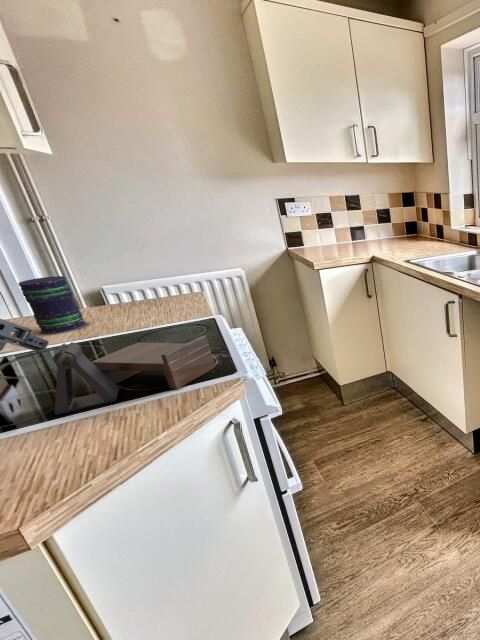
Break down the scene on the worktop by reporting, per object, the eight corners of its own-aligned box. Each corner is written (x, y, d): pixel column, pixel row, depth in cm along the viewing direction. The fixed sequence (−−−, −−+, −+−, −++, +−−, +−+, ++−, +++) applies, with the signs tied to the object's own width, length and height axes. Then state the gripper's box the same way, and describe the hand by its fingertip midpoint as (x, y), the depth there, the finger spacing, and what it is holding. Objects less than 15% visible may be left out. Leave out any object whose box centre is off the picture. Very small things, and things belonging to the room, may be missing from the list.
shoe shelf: (101, 387, 91) (86, 353, 88) (146, 365, 101) (134, 334, 98) (177, 389, 89) (165, 355, 86) (215, 367, 100) (205, 335, 97)
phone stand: (55, 415, 81) (26, 358, 76) (62, 402, 85) (35, 348, 81) (116, 400, 85) (93, 346, 81) (120, 389, 90) (98, 337, 85)
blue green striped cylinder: (42, 328, 129) (20, 280, 123) (86, 320, 135) (67, 274, 129) (39, 336, 122) (15, 286, 116) (85, 328, 128) (64, 279, 122)
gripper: (-50, 280, 60) (69, 327, 75) (-134, 280, 62) (-1, 326, 77) (-81, 328, 57) (49, 367, 72) (-168, 326, 59) (-23, 365, 74)
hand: (23, 346), depth 74 cm, fingers open, 8 cm apart
